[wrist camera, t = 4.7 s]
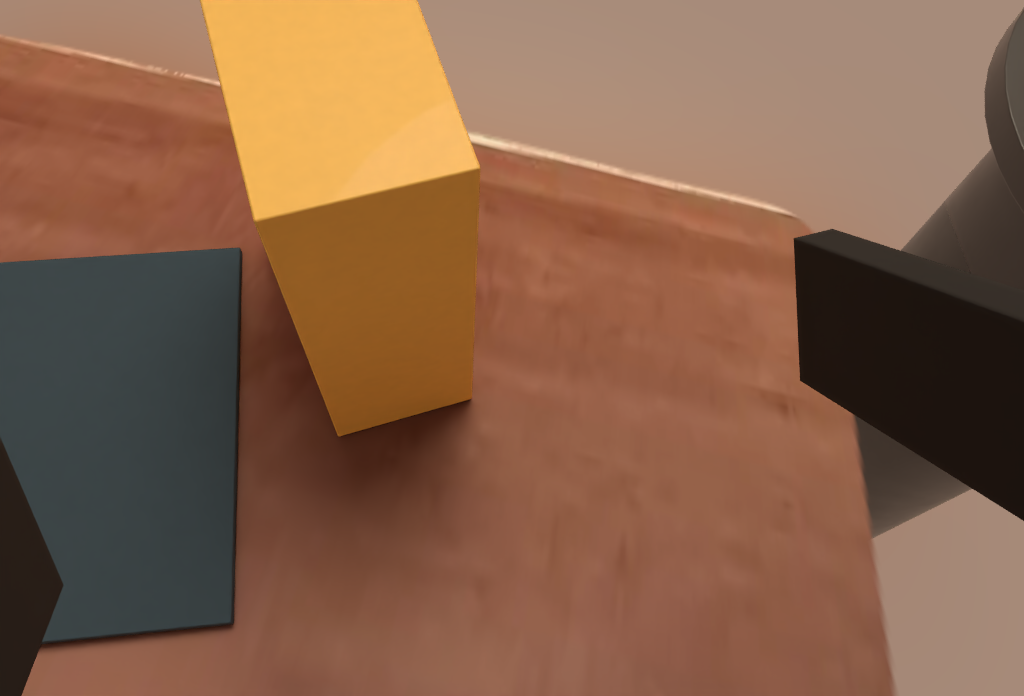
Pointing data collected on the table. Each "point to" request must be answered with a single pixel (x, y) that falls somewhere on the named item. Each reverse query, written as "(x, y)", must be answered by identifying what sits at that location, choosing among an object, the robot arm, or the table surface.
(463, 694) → the table surface
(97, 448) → the slate mat
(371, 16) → the cereal box
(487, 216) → the table surface
